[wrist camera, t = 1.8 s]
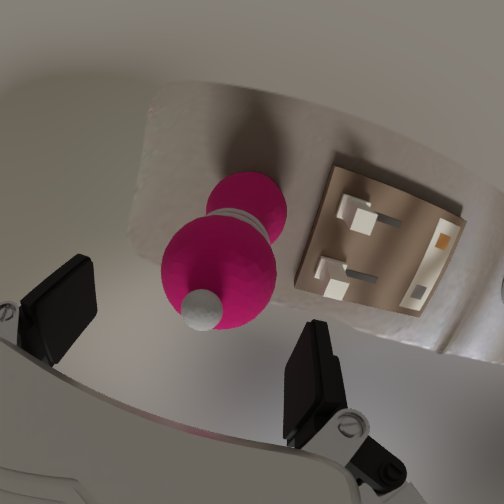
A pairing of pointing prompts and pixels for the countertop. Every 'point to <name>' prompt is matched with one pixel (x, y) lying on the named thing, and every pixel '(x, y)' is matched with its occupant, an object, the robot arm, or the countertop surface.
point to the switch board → (382, 245)
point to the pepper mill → (226, 254)
